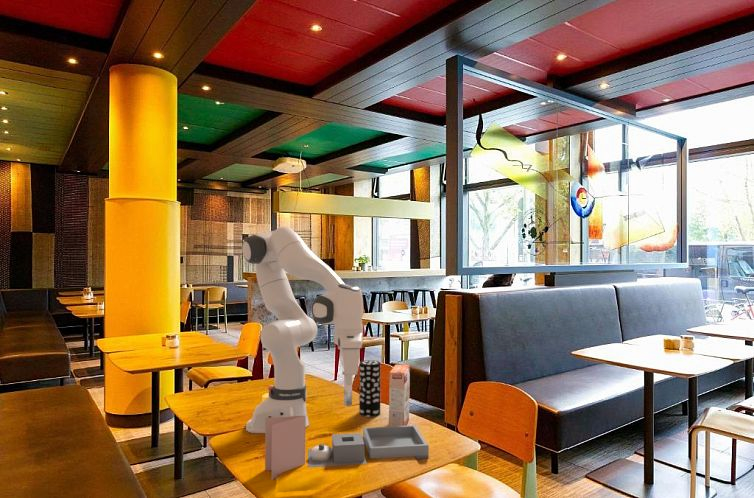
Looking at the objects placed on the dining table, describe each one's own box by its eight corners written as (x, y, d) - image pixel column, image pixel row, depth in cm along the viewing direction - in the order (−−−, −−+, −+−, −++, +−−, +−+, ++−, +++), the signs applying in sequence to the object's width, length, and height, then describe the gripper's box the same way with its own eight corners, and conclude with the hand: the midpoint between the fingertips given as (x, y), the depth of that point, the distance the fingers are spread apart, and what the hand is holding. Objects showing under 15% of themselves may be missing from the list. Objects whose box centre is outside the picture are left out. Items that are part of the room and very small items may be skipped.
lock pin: (342, 406, 145) (342, 373, 145) (341, 403, 148) (341, 370, 148) (354, 406, 145) (354, 373, 145) (353, 402, 149) (353, 370, 149)
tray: (370, 461, 144) (370, 448, 144) (363, 439, 162) (363, 427, 162) (428, 458, 147) (428, 445, 147) (415, 436, 165) (415, 425, 165)
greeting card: (305, 466, 141) (305, 414, 141) (305, 477, 134) (306, 423, 134) (265, 468, 139) (265, 416, 139) (263, 480, 132) (264, 425, 132)
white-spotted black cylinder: (361, 409, 194) (361, 360, 195) (381, 410, 193) (381, 360, 194) (357, 416, 186) (357, 364, 186) (378, 417, 185) (379, 365, 185)
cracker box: (405, 432, 169) (405, 372, 169) (388, 431, 170) (388, 372, 170) (410, 419, 182) (410, 364, 183) (394, 418, 184) (394, 363, 184)
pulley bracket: (308, 470, 138) (308, 449, 138) (307, 452, 151) (308, 433, 151) (366, 467, 140) (366, 446, 141) (361, 449, 153) (361, 430, 153)
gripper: (336, 332, 157) (335, 374, 157) (340, 343, 137) (340, 392, 136) (355, 332, 158) (354, 374, 157) (362, 343, 138) (362, 391, 137)
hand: (348, 382), depth 147 cm, fingers closed on lock pin, 2 cm apart
